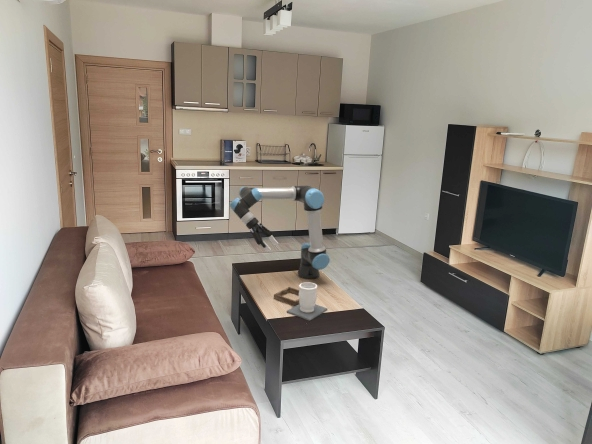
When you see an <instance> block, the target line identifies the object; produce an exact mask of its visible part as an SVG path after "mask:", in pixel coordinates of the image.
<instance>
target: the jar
mask: <svg viewBox="0 0 592 444" xmlns="http://www.w3.org/2000/svg"><path fill="white" fill-rule="evenodd" d="M298 287H299V289H298V290H299V295H298V299H299V303H300V306H301V307H300V310H301V311H302V312H306V313H310V312H313V311H314V306H315V304H316V303H317V299H318V291H317V289H318V284H316V283H314V282H309V281H308V282H307V281H306V282H305V281H304V282H301V283H300V284H299V285H298Z"/></svg>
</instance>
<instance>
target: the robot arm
mask: <svg viewBox="0 0 592 444" xmlns="http://www.w3.org/2000/svg"><path fill="white" fill-rule="evenodd" d="M238 195H239V196H240V198H239V197H236V198H235V199H233V200H232V201H231V202H230V204H229V207H230V209H232V211H233V212H234V214H235V215H236V216H237V217H238V218H239V220H241V222H242V223H243V224H244V225H245V227H246V228H247V229H248V230H249V232H250V233H251V235H252V237H253V239H254V240H255V242H256V244H257V245H258V246H261V247H262V248H263V249H264V251H265V252H266V253H269V252H271V250H272V249H271V247H270V246H269V245H268V243H266V241H265V240H263V238H262V235H264V236H266V237H268V240H269V241H270V242H271V243H272V244H273V245H274V247H276V246H277V245H278V244H279V242H278V241H277V240H276V239H275V237H274V236H273V234H274V233H273V232H272V231H271V230H269V229H268V228H267V227H265V226H264V225H263V224H262V223H259V220H258V219H257V217H255V215H254V213H252V212H251V211H250V208H252V207H253V206H254V205H256V203H258V202H259V201H260V200H291V201H294V202H301V203H302V204H303V210H304V211H305V212H306V219H307V226H308V227H307V228H308V235H309V236H308V237H309V242H303V243H302V244H301V248H300V250H301V251H300V265H299V267H298V270H297V276H298V277H299V278H301V279H306V280H314V279H318V278H319V277H320V270H325V269H326V268H328V266H329V264H330V257H329V255H328V254H327V248H326V246H325V245H324V237H323V230H322V229H323V228H322V226H323V225H322V216H321V211H322V209H323V204H324V203H325V196H324V194H323V191H321V190H319V189H317V188H314V187H312V186H311V185H292V186H291V187H248V186H242V187H240V188H239V190H238ZM258 223H259V224H258ZM261 234H262V235H261Z"/></svg>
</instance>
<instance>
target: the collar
mask: <svg viewBox="0 0 592 444" xmlns="http://www.w3.org/2000/svg"><path fill="white" fill-rule="evenodd" d="M299 290H300V289H297V288H294V287H291V286H288V287H286V288H284V289H282V290H279V291H278V292H275V293H274V294H273V300H275V301H277V302H278V301H279V302H282V303H284V304H287V305H290V306H292V307H295V306H296V305H298V304H300V303H299V298H297V299H296V300H294V299H291V298H289V297H286V296H285V295H287V294H289V293H290V294H293V295H296V296H299ZM284 296H285V297H284Z"/></svg>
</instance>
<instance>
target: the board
mask: <svg viewBox="0 0 592 444" xmlns="http://www.w3.org/2000/svg"><path fill="white" fill-rule="evenodd" d="M300 307H301V306H300V304H298V305H296V306H292V307H291V308H289V309H287V310H286V313H287V314H291V315H292V316H296V317H299V318H300V319H303V320H306V321H309V322H310V321H312V320H314V319H315V318H317V317H319V316H321V315H322V314H323V313H325V312H326V311H328V307H324V306H321V305H319V304H316V303H315V306H314V311H313V312H310V313H306V312H302V311H301V310H300Z"/></svg>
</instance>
